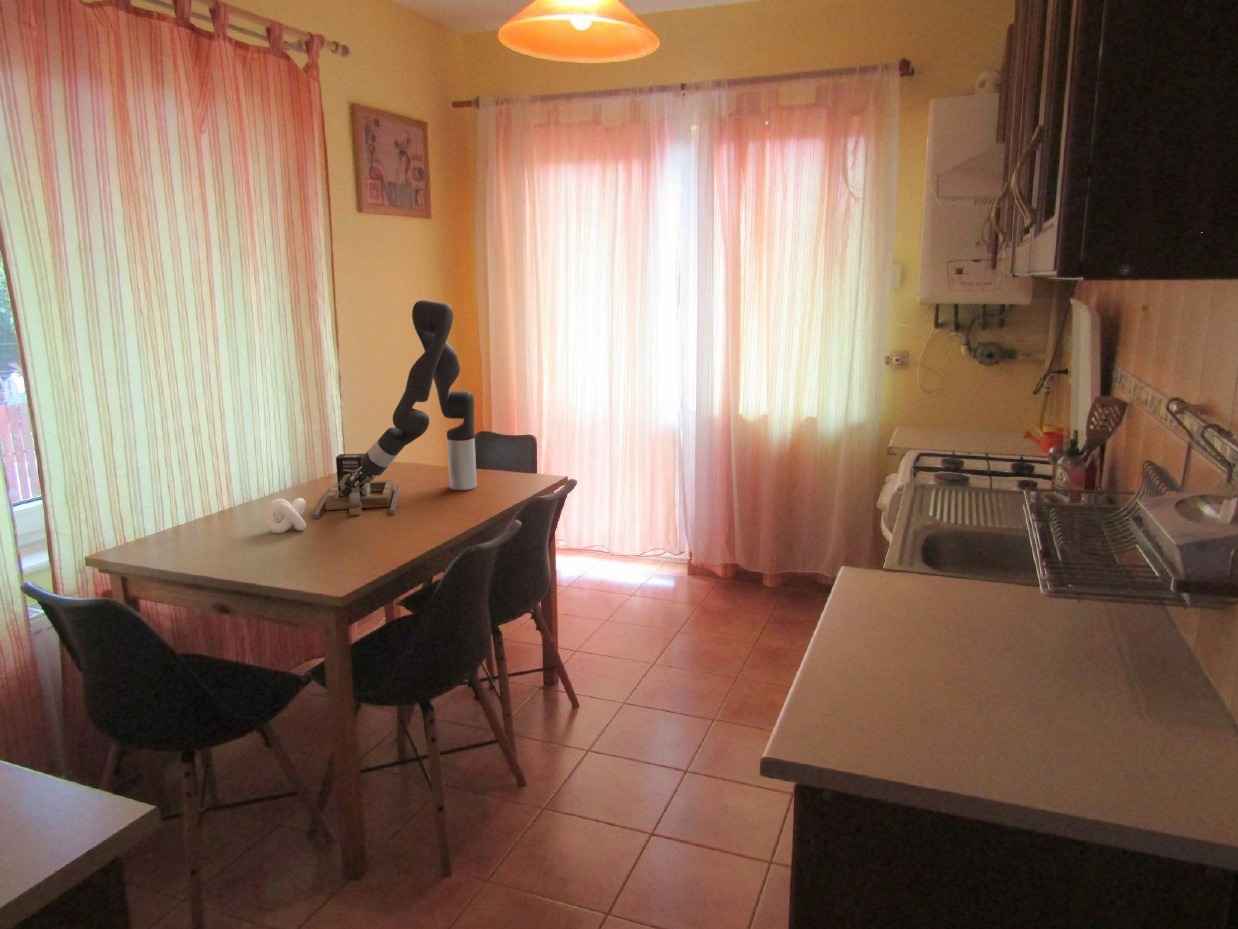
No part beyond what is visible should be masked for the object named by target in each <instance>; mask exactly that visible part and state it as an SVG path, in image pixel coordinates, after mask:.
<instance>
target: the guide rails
mask: <svg viewBox="0 0 1238 929" xmlns="http://www.w3.org/2000/svg"><path fill="white" fill-rule="evenodd" d="M331 489H332V488H328V489H327V490H326V492H325V493H324V495H323V497H322V499H321V501H320V502H319V505H318V506H317V508H316V510H315V512H313V513H314V514H313V520H319V519H320V517H321V515H322V513H323V511H324V509H325V508H326V506H325V500H326V498H327V496H328V494H329V493H330V491H331ZM399 490H401V486H400V484H398V485H395V488H394V490H393V494H392V500H391V502H390V503H391V504H390V507H389V515H390V516H393V514H394V515H395V514H396V513H395V512H396V510H397V503H398V500H399V496H398V495H400V491H399ZM324 507H325V508H324ZM320 514H321V515H320ZM318 518H319V519H318Z"/></svg>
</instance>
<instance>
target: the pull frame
mask: <svg viewBox="0 0 1238 929" xmlns="http://www.w3.org/2000/svg"><path fill="white" fill-rule="evenodd" d="M349 475H350V474H349ZM349 475H347V478H348V477H349ZM358 481H359V480H358ZM330 489H331V491H330V493H329V494H328V496H327V498H326V500H325V510H326V511H330V510H331V511H333V510H334V511H335V510H349V516H360V515H361V513H362V510H363V509H369V508H370V509H371V508H384V507H385V508H386V507H387V508H388V507H389V506H390V503H391V498H392V497H393V493H394V479H381V480H380V479H379V480H377V479H376V480H371V481H370V493H371V492H382V495H370V496H360V492H359V486H357V487H356V488H355V489H354V490H353V491H352V492H351V493H350V494H349V497H342V498H339V495H338V481H337V482H334V484H333V486H332V487H331V488H330ZM389 508H390V507H389Z"/></svg>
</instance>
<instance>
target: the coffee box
mask: <svg viewBox="0 0 1238 929" xmlns="http://www.w3.org/2000/svg"><path fill="white" fill-rule="evenodd" d="M365 454H366V453H340V454H338V455H337V456H336V457H335V463H336V479H337V482H338V495H339V498H342V497H344V495H343V494H342V493H341V492H342V490H343V489H344V488H345V487H346V486H345V485H344V483H345V482H346V480H347V475H349V474H351V473H353V474H355V473H356V472H357V470H358V469H359V468H360V467H362V466H361V459H362V457H363V456H364V455H365ZM359 492H360V496H371V492H370V483H366V485H364V486H362V487H361V489H360V490H359ZM347 497H349V495H348V496H347Z"/></svg>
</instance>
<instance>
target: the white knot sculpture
mask: <svg viewBox="0 0 1238 929" xmlns="http://www.w3.org/2000/svg"><path fill="white" fill-rule="evenodd" d="M306 505H307V503H306V501H305V499H304V498H302V497H298V498H296V499H294V500H293V501H292V502H291V503H290V502H289V501H288V500H286V499H283V498H276V499H273V500H271V501H270V502H269V503H268V504H266V507H265V509H264V511H263V512H264V513H263V522H264V525H265V526H266V528H267V529H268V530H269V531H270V532H271V533H274V534H283V533H285V532H287V531H288V530H289V529H291V527H292V526H293V527H294V528H295V530H296V531H299V532H300V531H304V530H305V529H306V528H307V524H306V523H307V522H305V520H304V519H303V517H302V515H303V513H304V511H305V509H306Z"/></svg>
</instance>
